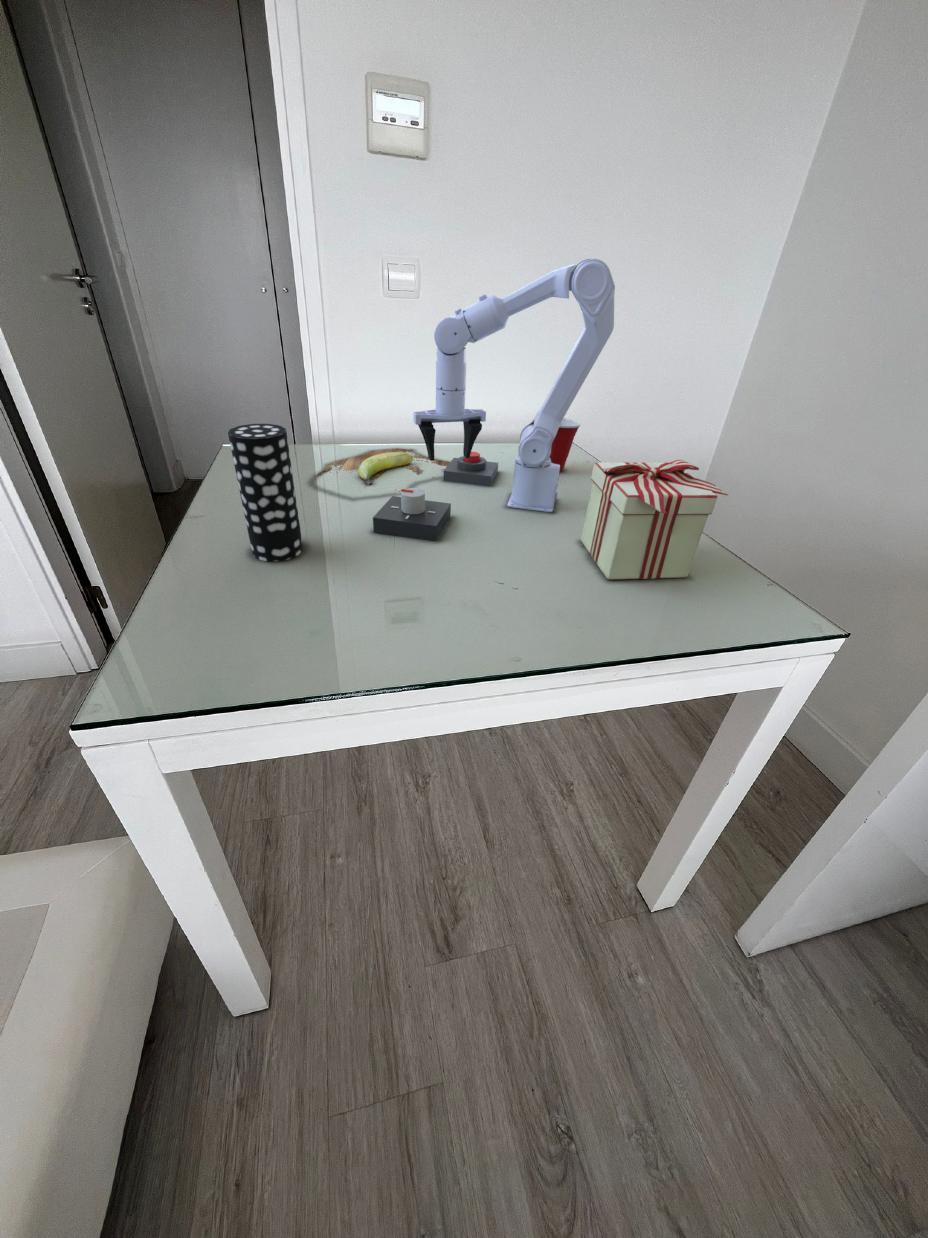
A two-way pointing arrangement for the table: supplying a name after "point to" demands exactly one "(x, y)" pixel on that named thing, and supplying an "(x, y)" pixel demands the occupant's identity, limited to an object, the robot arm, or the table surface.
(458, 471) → the switch block
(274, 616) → the table surface
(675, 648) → the table surface
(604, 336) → the robot arm
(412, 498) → the timer knob
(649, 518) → the gift box
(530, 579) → the table surface
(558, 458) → the plastic cup
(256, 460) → the spotted tube
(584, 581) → the table surface
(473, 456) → the power button
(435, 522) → the timer panel
